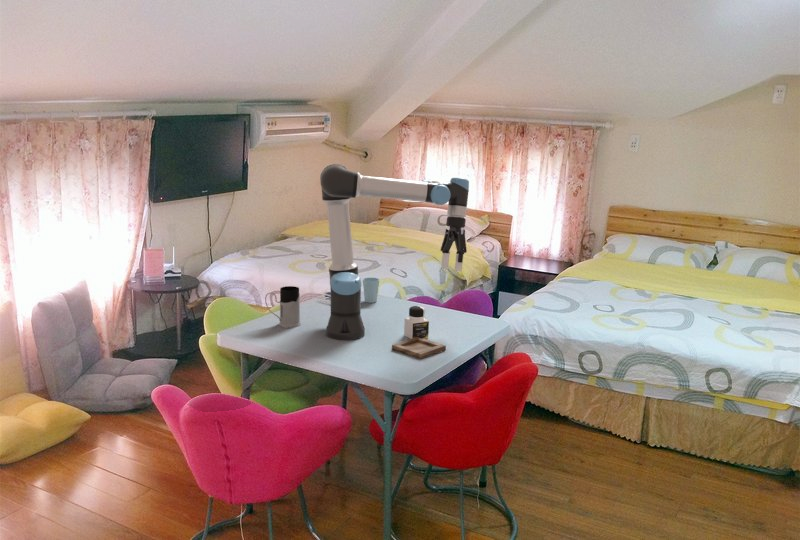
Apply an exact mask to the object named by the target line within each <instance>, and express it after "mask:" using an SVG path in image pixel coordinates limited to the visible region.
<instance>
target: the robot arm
mask: <svg viewBox="0 0 800 540" xmlns="http://www.w3.org/2000/svg"><path fill="white" fill-rule="evenodd" d="M319 180H320V188H321V198H322V201H323V202H324V203H325V204H326V208H327V211H326V212H327V220H328V231H329V232H328V233H329V243H330V244H329V245H330V253H331V264H330V265H329V267H328V271H329V273H328V274H329V286H330V287H329V288H330V316H329V319H328V323H327V325H326V327H325V335H326V336H327V337H329V338H331V339H334V340H339V341H340V340H345V341H349V340H356V339H360V338H363V337H364V336H365V334H366V333H365V331H366V329H365V328H366V327H365V325H364V322H363V318H362V315H361V309H362V308H361V305H362V303H361V302H362V297H361V296H362V295H361V294H362V292H361V291H362V280H361V277H360V275H359V266H358V264H357V263H356V262H355V260H354V251H353V241H352V229H351V227H352V225H351V217H350V216H351V215H350V205H349V203H350V202H351V200H352V199H356V198H358V197H370V198H371V197H372V198H380V199H381V198H382V199H392V200H400V201H410V202H420V203H428V204H429V203H430V204H435V205H438V206H442V205H446V204H447V203H448V204H447V210H446V211H447V214H446V215H447V217H446V226H447V227H449V228H445V230H444V231H445V232H444V236H443V240H442V244H441V246H440V252H442V256H441V267H440V269H441V270H449V262H450V254H451V251H450V250H451V248H452V246H453V245H454V244H455V249H456V253H455V263H454V271H455V272H457V271H458V272H462V271H463V261H464V255H465V254H467V243H466V229H464V228H466V217H467V212H468V210H467V209H468V200H469V199H468V198H469V191H470V190H469V188H470V181H469V180H468V179H467V178H463V177H452V178H451V179H450V181H439V180H433V179H432V180H431V179H422V180H421V181H417V180H408V179H407V180H405V179H397V178H388V177H381V176H380V177H379V176H369V175H362V174H361V173H360V172H359V171H351V170H349V169H348V168H346V167H345V166H344V165H342V164H338V163H337V164H336V163H333V164H329V165H327V166H326V167H324V168H323V170H322V171H321V173H320V179H319Z"/></svg>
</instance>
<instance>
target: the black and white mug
mask: <svg viewBox="0 0 800 540" xmlns="http://www.w3.org/2000/svg"><path fill="white" fill-rule="evenodd" d="M279 289H280V290H279V291H280V292H279V295H280V298H279V299H280V300H279V301H278V300H277V295H276V293H275V292H268V293H266V295H265V297H264V300H265V306H266V309H268V311H269V312H270V313H272V315H274V316H275V317H277V319H279V324H278V325H279V326H280V327H281V326H282V327H283V328H288V327H290V328H298V327H300V326H301V325H302V324H301V321H300V320H301V318H300V317H301V313H300V311H301V310H300V308H301V307H300V306H301V305H300V303H301V302H300V299H301V298H300V296H301V295H300V287H299V286H293V285H292V286H291V285H289V286H288V285H287V286H286V285H285V286H281V287H280V288H279ZM270 294H272V295H274V297H275V299H274V300H275V302H276V303H277V304H279V315H277V314H275V312H273V311H272V310H271V309H270V308H269V306H268V303H267V296H268V295H270Z"/></svg>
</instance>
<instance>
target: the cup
mask: <svg viewBox="0 0 800 540" xmlns="http://www.w3.org/2000/svg"><path fill="white" fill-rule="evenodd" d="M362 286H363V287H362V288H363V296H364V297H363V298H364V302H365V303H367V302H369V303H370V304H372V303H373V304H374V302H375V303H377V301H378V296H379V295H378V294H379V286H380V278H377V277H364V278H362ZM369 303H368V304H369Z"/></svg>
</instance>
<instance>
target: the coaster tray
mask: <svg viewBox="0 0 800 540" xmlns="http://www.w3.org/2000/svg"><path fill="white" fill-rule="evenodd" d="M446 349H447V345H445V344H443V343H439V342H435V341H432V340H430V339H429V340H428V339H427V338H425V339H423V338H420V337H415V338H412V339H410V338H408V339H407V340H403V341H400V342H396V343H393V344H392V345H391V350H393V351H396V352H398V353H402V354H404V355H408V356H410V357H413V358H417V359H419V360H422V359H424V358H427V357H431V356H434V355H436V354H439V353H441V351H442V352H445V351H446ZM444 350H445V351H444Z"/></svg>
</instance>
